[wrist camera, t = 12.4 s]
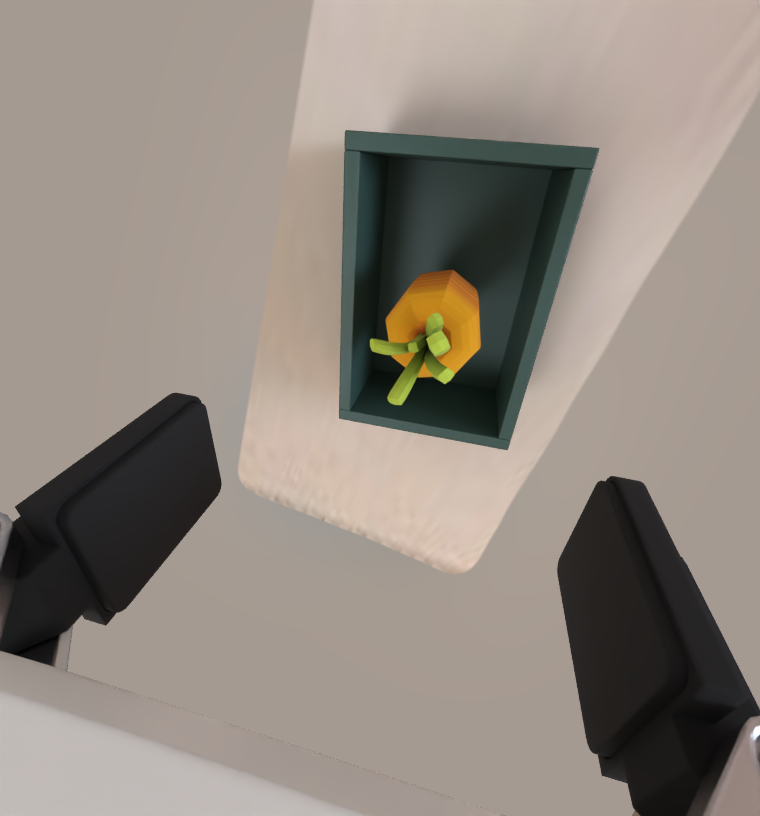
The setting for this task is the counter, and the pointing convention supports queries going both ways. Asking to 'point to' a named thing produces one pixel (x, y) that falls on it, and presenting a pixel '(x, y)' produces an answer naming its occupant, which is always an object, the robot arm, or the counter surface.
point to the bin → (464, 253)
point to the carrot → (431, 330)
